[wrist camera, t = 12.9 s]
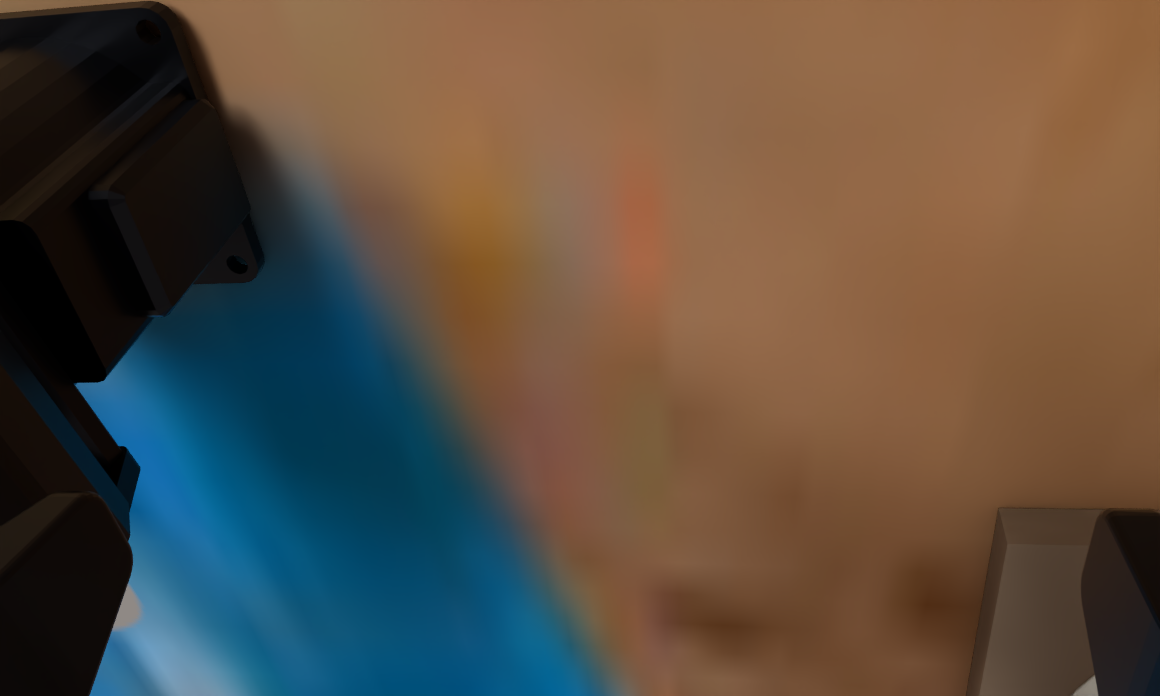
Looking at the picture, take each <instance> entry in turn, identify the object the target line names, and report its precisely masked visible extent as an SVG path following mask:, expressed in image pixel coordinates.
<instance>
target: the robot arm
mask: <svg viewBox="0 0 1160 696" xmlns="http://www.w3.org/2000/svg"><path fill="white" fill-rule="evenodd" d="M146 20H148V21H151V22H153V23H154V24H155V25H156V26H157V27H158V29H159V30H160V33H161V37H156V36H155V35H153V34H152V33H150V31H149V30H148V28H147V27H146ZM249 211H250V204H249V201H248V198H247V195H246V192H245V190H244V187H243V184H242V181H241V178H240V176H239V173H238V170H237V167H236V164H235V162H234V159H233V156H232V153H231V150H230V148H229V145H228V142H227V139H226V136H225V134H224V131H223V128H222V125H221V122H220V120H219V117H218V114H217V111H216V109H215V108H214V107H213V106H212V105H211V104H210V103H209V102H208V99H207V96H206V94H205V91H204V88H203V85H202V83H201V80H200V77H199V74H198V71H197V69H196V66H195V63H194V60H193V58H192V55H191V52H190V49H189V47H188V44H187V41H186V38H185V35H184V33H183V30H182V27H181V24H180V22H179V20H178V19H177V17H176V15H175V14H174V13H173V12H172V11H171V10H170V9H169V8H168V7H167V6H165V5H163V4H161V3H159V2H155V1H140V2H128V3H116V4H104V5H93V6H81V7H69V8H57V9H46V10H34V11H22V12H10V13H0V696H89V695H90V692H91V690H92V687H93V684H94V681H95V678H96V675H97V672H98V669H99V666H100V663H101V660H102V657H103V654H104V652H105V649H106V646H107V643H108V640H109V637H110V634H111V631H112V628H113V625H114V622H115V619H116V616H117V613H118V611H119V608H120V605H121V602H122V599H123V596H124V593H125V590H126V587H127V584H128V582H129V579H130V576H131V572H132V566H133V554H132V550H131V547H130V545H129V543H128V540H129V537H130V520H129V512H130V508H131V504H132V500H133V496H134V492H135V489H136V485H137V481H138V477H139V473H140V466H139V465H138V463H137V462H136V461H135V459H134V458H133V456H132V455H131V454H130V452H129V451H128V449H127V448H126V447H124V446H118V445H117V443H116V442H115V440H114V439H113V438H112V436H111V435H110V433H109V432H108V431H107V429H106V428H105V426H104V425H103V424H102V422H101V421H100V419H99V418H98V417H97V415H96V414H95V412H94V411H93V410H92V408H91V407H90V405H89V404H88V403H87V401H86V400H85V398H84V397H83V396H82V394H81V393H80V391H79V390H78V389H77V387H76V386H75V385H76V384H77V383H89V382H101V381H104V380H105V379H106V377H107V376H108V375H109V374H110V372H111V371H112V370H113V369H114V367H115V366H116V365H117V364H118V362H119V361H120V360H121V359H122V358H123V356H124V355H125V354H126V353H127V351H128V350H129V349H130V348H131V346H132V345H133V344H134V343H135V341H136V340H137V339H138V338H139V336H140V335H141V334H142V333H143V331H144V330H145V329H146V328H147V327H148V325H149V324H150V323H151V322H152V320H153V319H154V318H155V317H165V316H167V315H168V314H170V312H171V311H172V310H173V309H174V307H175V306H176V305H177V303H178V302H179V301H180V300H181V298H182V297H183V296H184V295H185V293H186V292H187V291H188V290H189V288H190V287H191V286H192V285H193V284H217V283H245V282H250V281H252V280H253V279H254V278H255V277H256V276H257V275H258V274H259V272H260V271H261V269H262V268H263V265H264V262H265V261H264V255H263V252H262V249H261V246H260V243H259V241H258V238H257V235H256V232H255V230H254V227H253V224H252V221H251V218H250V216H249ZM234 255H235V256H239V257H241V258H242V259H244V260H245V262H246V263H247V265H245V264H241V263H240V262H238V261H237V260H236V258H235V257H234ZM1081 601H1082V608H1083V613H1084V619H1085V624H1086V630H1087V635H1088V641H1089V646H1090V652H1091V657H1092V663H1093V668H1094V674H1095V679H1096V685H1097V691H1098V696H1160V512H1158V511H1156V510H1152V509H1124V508H1109V509H1105V510H1103V511H1102V512H1101V513H1100V514H1099V515H1098V517H1097V519H1096V522H1095V525H1094V529H1093V533H1092V537H1091V541H1090V545H1089V548H1088V552H1087V556H1086V560H1085V564H1084V568H1083V572H1082V577H1081Z"/></svg>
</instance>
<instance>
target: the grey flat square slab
mask: <svg viewBox="0 0 1160 696" xmlns="http://www.w3.org/2000/svg"><path fill="white" fill-rule="evenodd" d="M1102 511H1103V510H1098V509H1031V508H998V514H997V520H996V525H995V531H994V537H993V543H992V549H991V554H990V560H989V566H988V572H987V577H986V583H985V589H984V595H983V600H982V606H981V612H980V618H979V623H978V629H977V635H976V641H975V647H974V652H973V658H972V664H971V670H970V675H969V681H968V687H967V693H966V696H1098V691H1097V685H1096V679H1095V674H1094V668H1093V663H1092V657H1091V652H1090V646H1089V641H1088V635H1087V630H1086V624H1085V619H1084V613H1083V608H1082V601H1081V577H1082V572H1083V568H1084V564H1085V560H1086V556H1087V552H1088V548H1089V545H1090V541H1091V537H1092V533H1093V529H1094V525H1095V522H1096V519H1097V517H1098V515H1099V514H1100V513H1101V512H1102ZM1156 511H1158V512H1160V510H1156Z"/></svg>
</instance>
